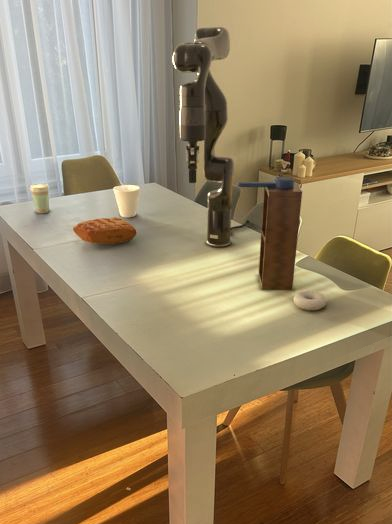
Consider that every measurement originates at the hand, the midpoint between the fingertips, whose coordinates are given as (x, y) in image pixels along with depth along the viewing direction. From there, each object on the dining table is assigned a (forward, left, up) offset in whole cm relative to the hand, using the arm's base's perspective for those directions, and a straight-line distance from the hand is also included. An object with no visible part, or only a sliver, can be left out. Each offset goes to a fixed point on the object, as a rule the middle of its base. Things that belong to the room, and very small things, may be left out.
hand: (192, 179), depth 166 cm
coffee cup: (-53, -95, -34) cm, 114 cm away
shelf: (-9, +26, -34) cm, 44 cm away
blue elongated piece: (-8, +21, -2) cm, 23 cm away
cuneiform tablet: (-26, -47, -34) cm, 64 cm away
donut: (+4, +40, -34) cm, 53 cm away
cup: (-62, -55, -34) cm, 90 cm away
